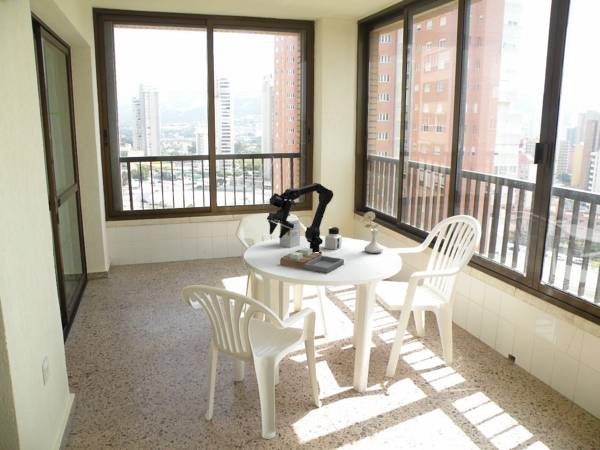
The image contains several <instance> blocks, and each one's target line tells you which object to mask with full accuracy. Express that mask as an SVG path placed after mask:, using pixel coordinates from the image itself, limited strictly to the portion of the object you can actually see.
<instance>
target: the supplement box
mask: <svg viewBox="0 0 600 450" xmlns="http://www.w3.org/2000/svg"><path fill="white" fill-rule="evenodd" d="M286 221H288V222H290V223H293V224H294V228H293V229H292V228H291V230H289V231H288V232H287V233H286V234H285V235H284V236H283V237H282V238H279V245H280V246H283V247H286V248H294V247H295V248H296V247H298V246H300V244H301V219H300V218H294V217H289V216H288V218H287V220H286ZM281 225H282V224H280V223H279V234H280V233H281V229H282V228H281ZM282 226H284V225H282Z"/></svg>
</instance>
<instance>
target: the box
mask: <svg viewBox="0 0 600 450" xmlns="http://www.w3.org/2000/svg"><path fill="white" fill-rule="evenodd" d="M344 264H345V259H344V258H339V257H334V256H333V257H332V256H326V255H322V256H319V257H317V258H315V259H313V260H311V261H309V262H307V263H305V264H304V269H303V270H306V271H311V272H312V271H313V272H316V273H317V272H318V273H323V274H329V273H332V272H334V271H335V270H337V269H338V268H340V267H342V266H344Z"/></svg>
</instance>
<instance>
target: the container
mask: <svg viewBox="0 0 600 450" xmlns="http://www.w3.org/2000/svg"><path fill="white" fill-rule="evenodd" d="M327 231H328V233H327V235H325V237H324V249H328V250H331V251H332V250H334V251H337V250H339V249H341V248H342V238H343V237H342V235H339V234H340V228H339V227H337V226H331V227H328V230H327Z"/></svg>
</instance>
